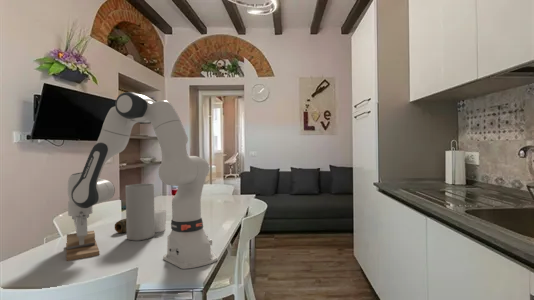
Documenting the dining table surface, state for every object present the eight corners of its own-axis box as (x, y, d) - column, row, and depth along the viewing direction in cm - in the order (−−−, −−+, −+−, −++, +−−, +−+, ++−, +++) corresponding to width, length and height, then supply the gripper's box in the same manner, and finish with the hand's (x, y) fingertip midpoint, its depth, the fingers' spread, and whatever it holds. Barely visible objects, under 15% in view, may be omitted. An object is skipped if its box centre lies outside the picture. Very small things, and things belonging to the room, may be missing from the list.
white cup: (169, 228, 161) (168, 209, 161) (162, 232, 153) (162, 213, 153) (154, 228, 161) (154, 209, 161) (147, 232, 154) (147, 212, 153)
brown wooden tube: (125, 234, 151) (125, 221, 151) (113, 234, 153) (113, 220, 153) (144, 227, 166) (143, 214, 166) (133, 226, 167) (132, 214, 167)
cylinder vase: (144, 241, 138) (143, 187, 138) (120, 240, 141) (119, 186, 141) (159, 233, 151) (158, 183, 150) (137, 233, 153) (136, 183, 153)
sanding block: (95, 244, 130) (94, 233, 130) (67, 249, 124) (66, 237, 124) (93, 241, 134) (93, 230, 134) (66, 246, 128) (66, 234, 128)
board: (99, 254, 122) (99, 251, 122) (66, 260, 116) (66, 256, 116) (94, 241, 139) (94, 238, 139) (66, 246, 133) (66, 243, 133)
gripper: (91, 213, 122) (91, 247, 122) (87, 205, 139) (88, 235, 139) (72, 215, 119) (73, 250, 119) (71, 207, 135) (71, 238, 136)
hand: (81, 242), depth 129 cm, fingers closed on sanding block, 5 cm apart
